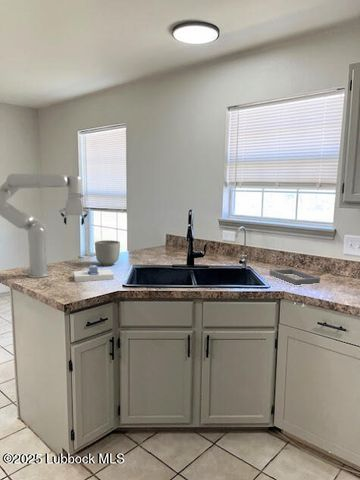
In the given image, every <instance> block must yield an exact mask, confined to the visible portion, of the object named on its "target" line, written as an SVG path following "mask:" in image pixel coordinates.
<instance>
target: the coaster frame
mask: <svg viewBox="0 0 360 480" xmlns="http://www.w3.org/2000/svg"><path fill="white" fill-rule="evenodd" d="M284 274H294V275H297V276H299V277H302V278H305V279H300V278H296V277H293V276H290V275H284ZM270 275H271V276H274V277H276V278H279V279H281V280H284V281H286V282H289V283H292V284H294V285H301V284H313V283H320V282H321V278H320V277H317V276H314V275H312V274H309V273H307V272H304V271H301V270H298V269H294V268H282V269H269V276H270ZM271 276H270V277H271ZM276 278H275V279H276ZM320 284H321V283H320Z"/></svg>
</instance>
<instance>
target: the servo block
mask: <svg viewBox="0 0 360 480" xmlns="http://www.w3.org/2000/svg"><path fill="white" fill-rule="evenodd" d="M97 270H98V266H97V265H96V264H95V265H93V264H92V265H88V271H89V275H98V273H97Z"/></svg>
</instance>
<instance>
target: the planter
mask: <svg viewBox="0 0 360 480" xmlns="http://www.w3.org/2000/svg"><path fill="white" fill-rule="evenodd" d="M94 250H95V251H94V252H95V258H96V261H97V262H98V263H99V264H100V265H101V266H105V267H111V266H114V265H115V263H117V262H118V260H119V258H120V252H121V242H120V241H118V240H108V239H107V240H97V241H95V242H94Z"/></svg>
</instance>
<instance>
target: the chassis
mask: <svg viewBox="0 0 360 480" xmlns="http://www.w3.org/2000/svg"><path fill="white" fill-rule="evenodd" d="M97 273H98V275H89V270H80V271H78V270H77V271H76V270H75V271H74V270H73V278H74V282H75V283H79V282H93V281H108V280H110V281H111V280H114V275H115V274H114V273H113V271H111V269H97Z"/></svg>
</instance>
